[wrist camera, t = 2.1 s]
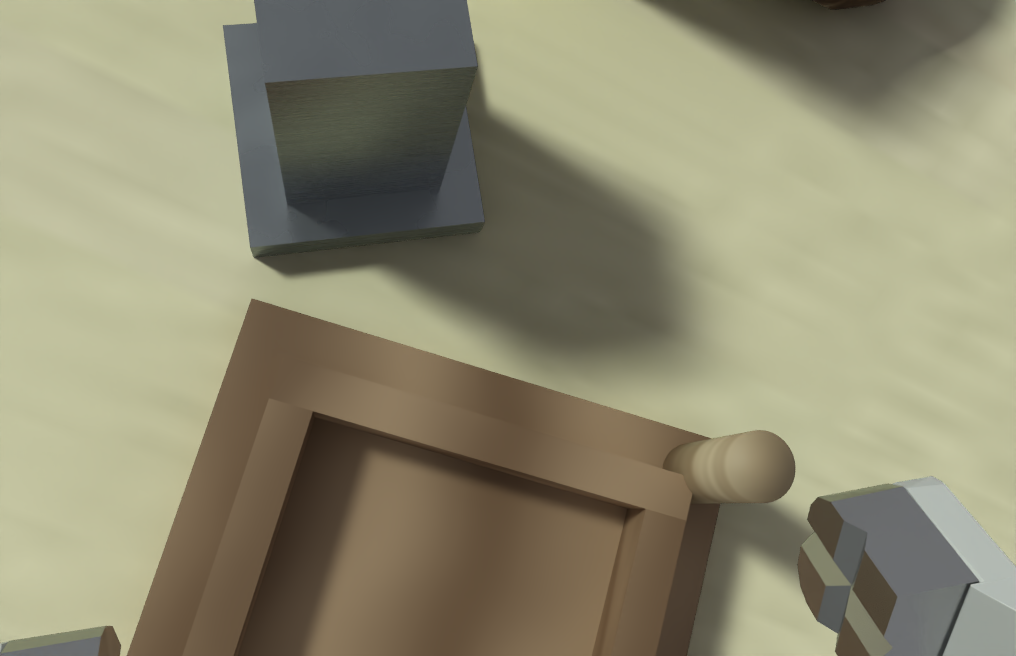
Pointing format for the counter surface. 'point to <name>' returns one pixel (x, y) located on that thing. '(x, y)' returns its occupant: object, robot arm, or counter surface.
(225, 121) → the counter surface
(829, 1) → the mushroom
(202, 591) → the brown wooden square tray
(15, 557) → the counter surface
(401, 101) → the grey block on base
